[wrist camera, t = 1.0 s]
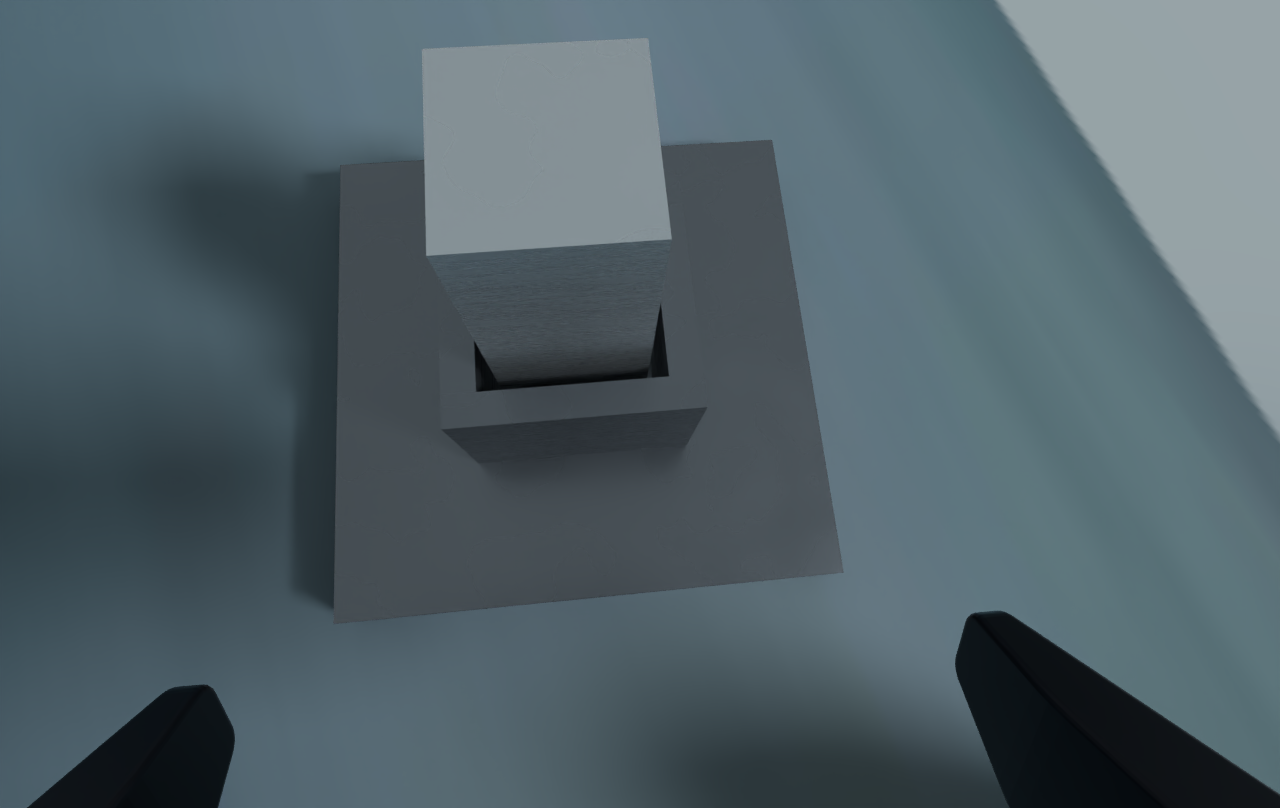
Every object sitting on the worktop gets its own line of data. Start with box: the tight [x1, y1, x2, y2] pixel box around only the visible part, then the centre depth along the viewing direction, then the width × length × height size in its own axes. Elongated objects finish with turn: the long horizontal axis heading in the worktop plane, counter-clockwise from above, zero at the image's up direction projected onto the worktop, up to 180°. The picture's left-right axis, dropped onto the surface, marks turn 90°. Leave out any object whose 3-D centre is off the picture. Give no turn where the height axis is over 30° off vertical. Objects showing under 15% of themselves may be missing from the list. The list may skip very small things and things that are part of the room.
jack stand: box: [334, 140, 844, 624], centre depth 19 cm, size 14×14×6 cm
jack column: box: [422, 38, 672, 390], centre depth 15 cm, size 4×4×10 cm
